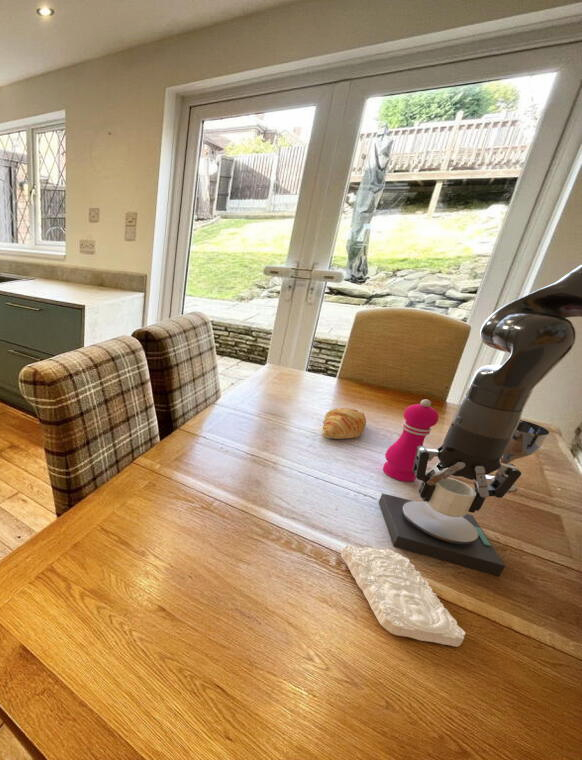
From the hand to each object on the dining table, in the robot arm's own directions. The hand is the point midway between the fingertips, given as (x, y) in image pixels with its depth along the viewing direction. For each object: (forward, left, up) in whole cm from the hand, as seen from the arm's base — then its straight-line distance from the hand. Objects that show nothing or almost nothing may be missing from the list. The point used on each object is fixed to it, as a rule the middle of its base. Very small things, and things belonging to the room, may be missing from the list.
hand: (446, 503), depth 74 cm
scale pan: (0, 0, -4) cm, 4 cm away
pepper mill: (+1, -22, -8) cm, 23 cm away
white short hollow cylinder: (0, 0, -1) cm, 1 cm away
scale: (0, 0, -8) cm, 8 cm away
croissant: (+11, -41, -8) cm, 43 cm away
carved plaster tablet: (+10, +20, -8) cm, 24 cm away
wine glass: (-19, -29, -8) cm, 36 cm away
